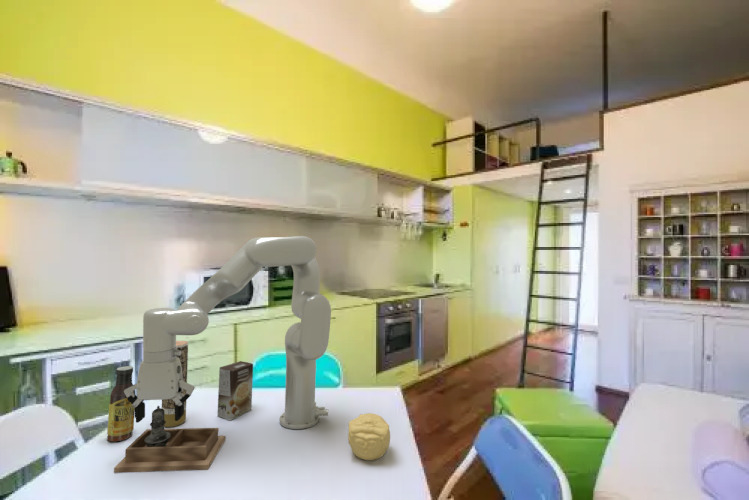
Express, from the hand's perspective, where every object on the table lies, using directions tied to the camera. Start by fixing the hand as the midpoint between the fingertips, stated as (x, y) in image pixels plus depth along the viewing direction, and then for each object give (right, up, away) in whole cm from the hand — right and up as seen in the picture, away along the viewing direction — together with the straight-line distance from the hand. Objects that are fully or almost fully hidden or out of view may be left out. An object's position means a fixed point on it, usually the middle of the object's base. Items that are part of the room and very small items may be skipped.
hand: (159, 419), depth 95 cm
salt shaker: (0, -8, 0) cm, 8 cm away
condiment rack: (+4, -10, 0) cm, 10 cm away
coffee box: (+10, -10, +25) cm, 29 cm away
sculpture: (+56, -11, +4) cm, 57 cm away
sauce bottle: (-16, -9, +8) cm, 20 cm away
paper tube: (-6, -10, +17) cm, 21 cm away
